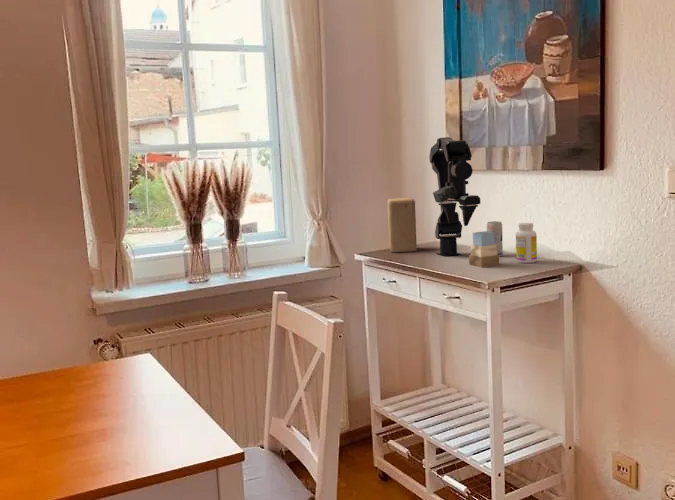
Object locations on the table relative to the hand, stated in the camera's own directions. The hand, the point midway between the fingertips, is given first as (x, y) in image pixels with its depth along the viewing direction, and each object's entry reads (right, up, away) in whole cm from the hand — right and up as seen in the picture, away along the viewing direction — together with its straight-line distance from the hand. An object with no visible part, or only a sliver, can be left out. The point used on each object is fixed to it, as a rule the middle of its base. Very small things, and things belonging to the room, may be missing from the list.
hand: (458, 224), depth 231 cm
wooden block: (-15, -9, +34) cm, 38 cm away
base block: (+8, -14, -4) cm, 16 cm away
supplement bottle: (+22, -13, -3) cm, 26 cm away
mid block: (+8, -10, -5) cm, 14 cm away
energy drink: (+15, -11, +11) cm, 22 cm away
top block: (+8, -7, -5) cm, 11 cm away
